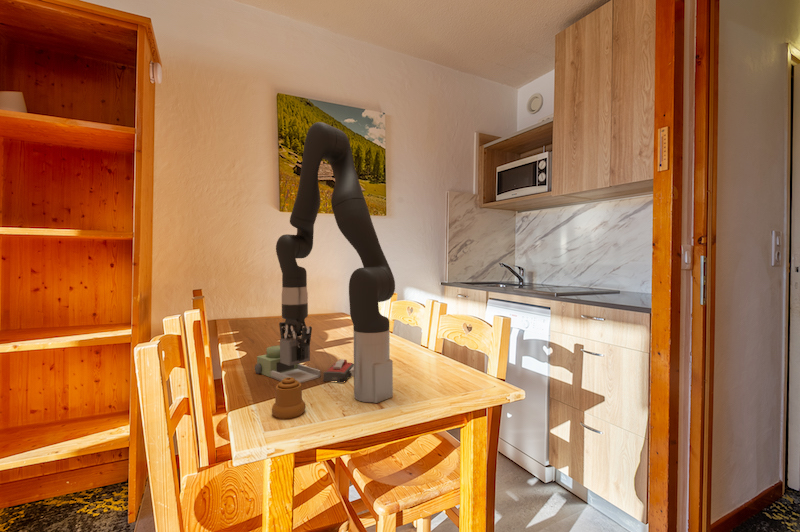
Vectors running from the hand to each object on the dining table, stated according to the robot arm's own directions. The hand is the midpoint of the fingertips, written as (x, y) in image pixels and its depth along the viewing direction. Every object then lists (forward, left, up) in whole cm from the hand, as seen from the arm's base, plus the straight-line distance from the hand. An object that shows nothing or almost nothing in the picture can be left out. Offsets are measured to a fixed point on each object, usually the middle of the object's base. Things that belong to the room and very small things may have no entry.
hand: (295, 358), depth 115 cm
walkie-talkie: (-8, -13, -6) cm, 16 cm away
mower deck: (+4, 0, -6) cm, 7 cm away
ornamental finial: (-22, +16, -6) cm, 28 cm away
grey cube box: (0, 0, -1) cm, 1 cm away
